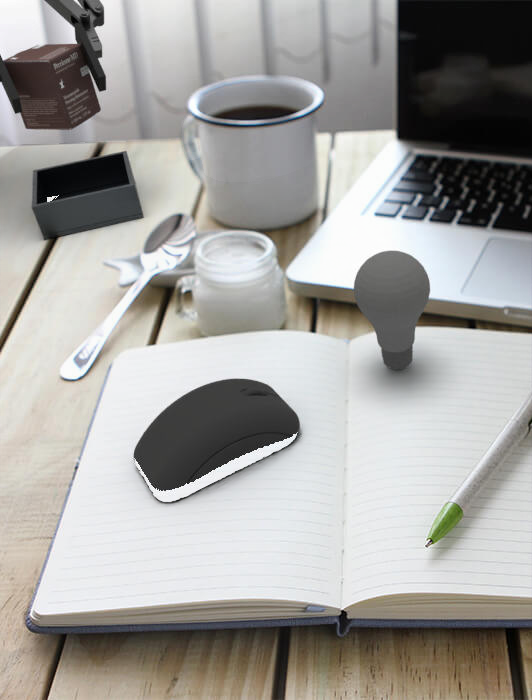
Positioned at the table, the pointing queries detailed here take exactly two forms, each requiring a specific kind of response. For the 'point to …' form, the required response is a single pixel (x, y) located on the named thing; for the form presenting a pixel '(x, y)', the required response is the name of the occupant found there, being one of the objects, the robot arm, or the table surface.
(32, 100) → the box
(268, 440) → the computer mouse
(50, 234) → the dark grey open tray
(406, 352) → the light bulb
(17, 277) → the table surface
